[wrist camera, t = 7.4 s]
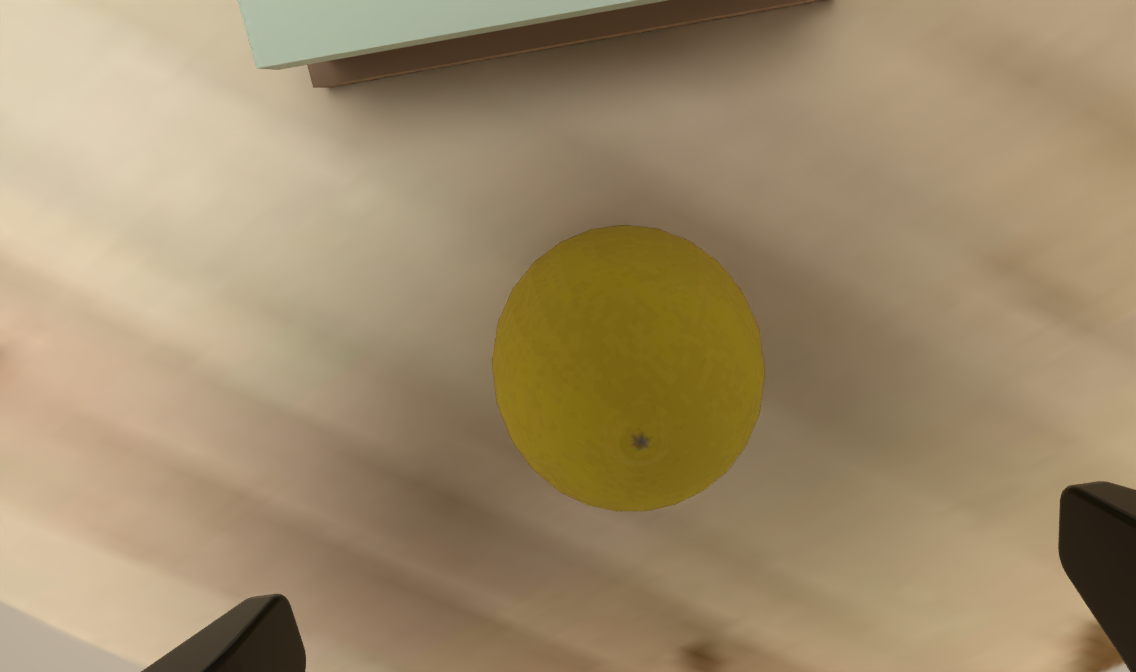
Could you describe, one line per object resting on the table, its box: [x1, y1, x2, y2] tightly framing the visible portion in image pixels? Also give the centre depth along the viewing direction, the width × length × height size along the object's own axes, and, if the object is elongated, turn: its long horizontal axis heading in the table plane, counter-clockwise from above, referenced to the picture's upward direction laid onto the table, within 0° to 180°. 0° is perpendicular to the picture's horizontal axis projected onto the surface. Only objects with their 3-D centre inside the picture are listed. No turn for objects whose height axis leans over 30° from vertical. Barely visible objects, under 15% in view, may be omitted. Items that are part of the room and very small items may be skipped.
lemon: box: [492, 225, 765, 511], centre depth 16 cm, size 6×6×8 cm
